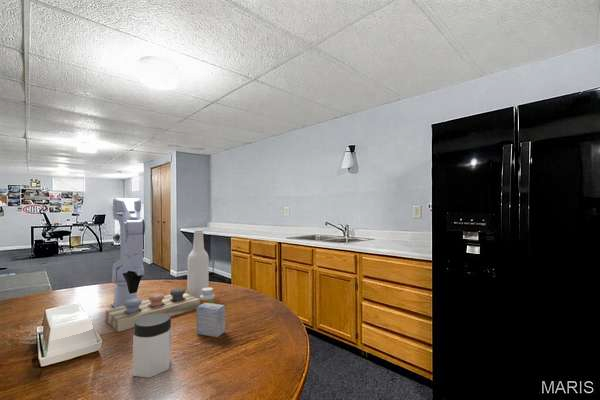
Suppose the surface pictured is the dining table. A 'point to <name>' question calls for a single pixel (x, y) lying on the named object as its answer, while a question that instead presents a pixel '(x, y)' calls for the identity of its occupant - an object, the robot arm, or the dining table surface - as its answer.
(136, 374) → the jar
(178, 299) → the charcoal plug
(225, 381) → the dining table surface
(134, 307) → the slate-blue plug
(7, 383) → the dining table surface
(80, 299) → the dining table surface
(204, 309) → the medicine box
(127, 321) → the panel
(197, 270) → the alcohol
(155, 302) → the terracotta plug
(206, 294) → the supplement bottle
